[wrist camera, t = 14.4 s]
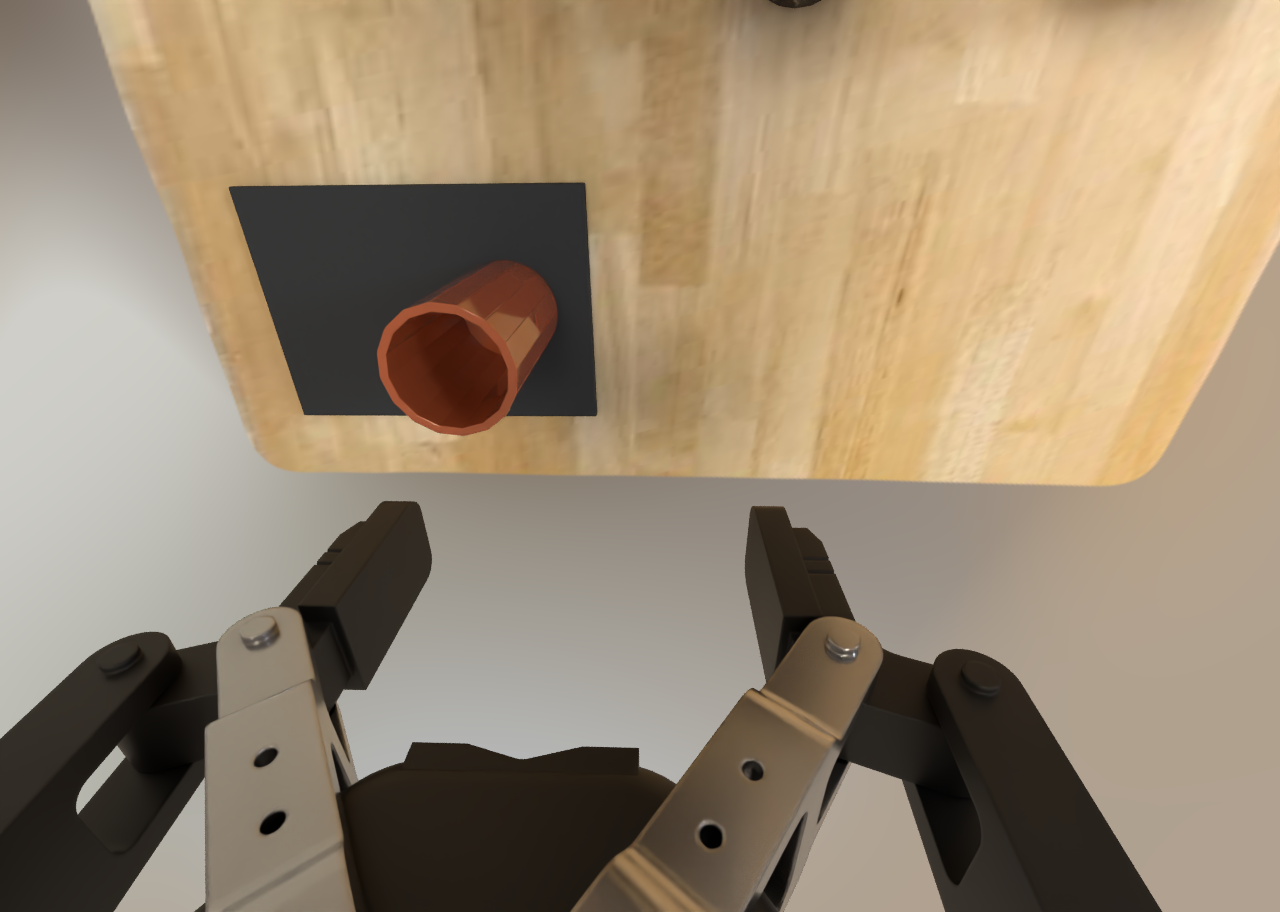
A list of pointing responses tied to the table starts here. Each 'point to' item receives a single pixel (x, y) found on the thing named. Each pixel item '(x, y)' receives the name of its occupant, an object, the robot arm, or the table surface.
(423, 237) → the mat
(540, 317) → the cup
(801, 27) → the table surface
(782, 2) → the deodorant
